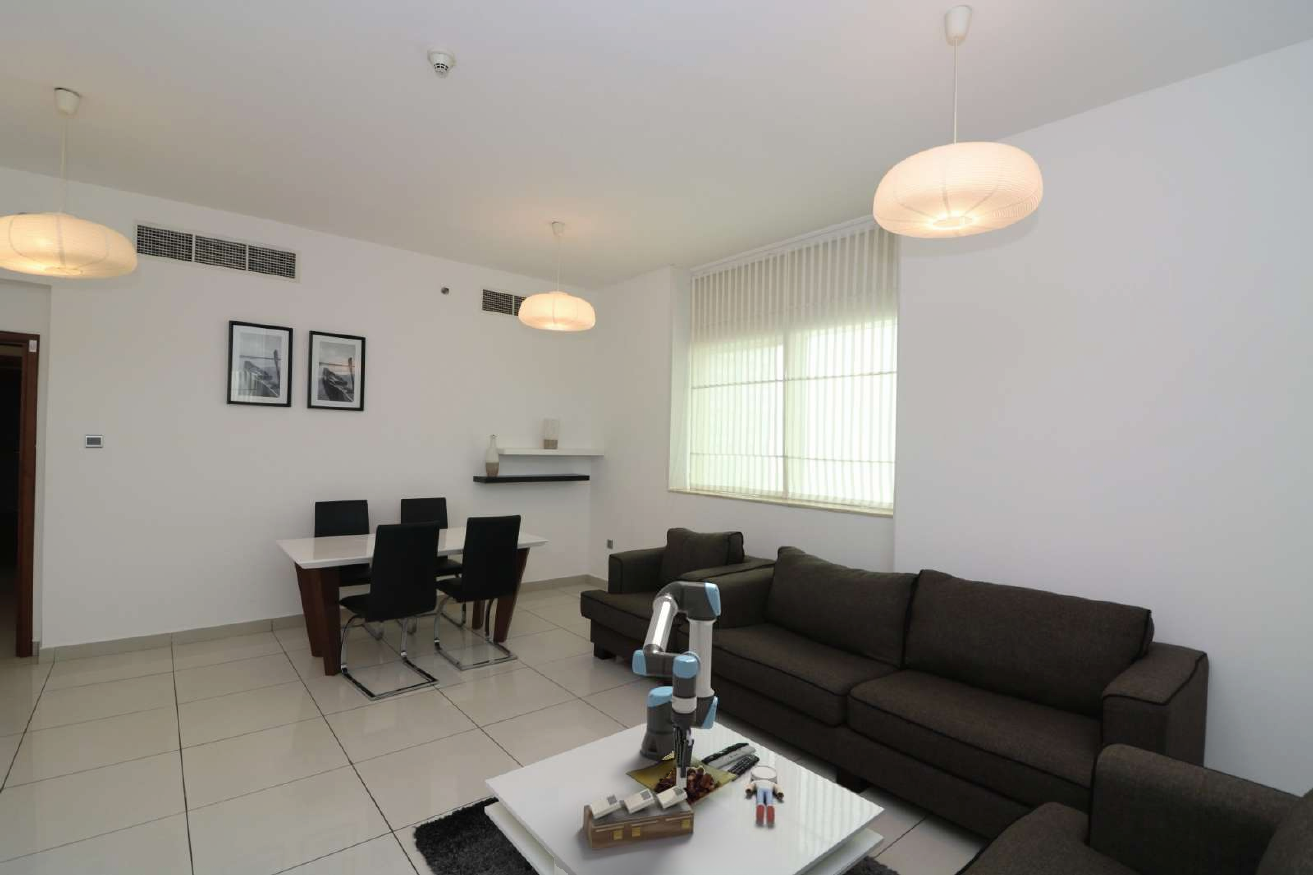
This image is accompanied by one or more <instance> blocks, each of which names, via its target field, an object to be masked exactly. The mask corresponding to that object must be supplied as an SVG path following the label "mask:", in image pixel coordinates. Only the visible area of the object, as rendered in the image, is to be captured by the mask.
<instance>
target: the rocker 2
mask: <svg viewBox="0 0 1313 875" xmlns="http://www.w3.org/2000/svg"><path fill="white" fill-rule="evenodd" d="M656 795H657V799H658V801H659V802H660V804H661V806H662V807H663V809H665V808H667V807H669V806H671V805H673V804H675V803H677V802H679V801H681V800H683V799H685V800H686V799H687V798H688V794H687V792H686V791H685V789H684V788H677V786H676V785H674V786H673V787H670V788H669V789H666V790H664V791H662V792H660V793H657V794H656Z"/></svg>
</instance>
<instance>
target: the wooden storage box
mask: <svg viewBox="0 0 1313 875" xmlns="http://www.w3.org/2000/svg"><path fill="white" fill-rule="evenodd" d="M652 796H653V798H654V801H655V802H654V803H652V804H650V805H648V806H646V807H644V808H642V809H640V810H637V811H635V812H633V813H631V814H630V813H629V811H628V809H627V807H626V805H625V803H624V799H619V800H618V801H619V803H620V806H621V807H620V808H618V809H616V810H614V811H612V812H610V813H608V814H605V815H603V816H601V817H599V818H597V819H595V818H594V816H593V813H592V811H591V808H590V804H586V805H584V806H583V817H582V818H583V819H582V820H583V821H582V822H583V823H582V824H583V825H582V826H583V830H584V832H585V835H586V837H587V838H586V839H587V842H588V844H589V846H590V848H591V851H593V850H594V851H595V850H600V849H606V848H612V847H618V846H624V845H631V844H635V843H637V844H638V843H642V842H648V841H655V840H661V839H667V838H672V837H678V836H685V835H690V833H691V834H694V827H695V825H694V824H695V812H694V811H693V809H692V808H691V806H690V804H689V802H687V800H686V798H685V799H683V800H681V801H679V802H677V803H675V804H673V805H671V806H669V807H667V808H665V809H663V807H662V806H661V804H660V802H659V801H658V799H657V794H656V795H652Z"/></svg>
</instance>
